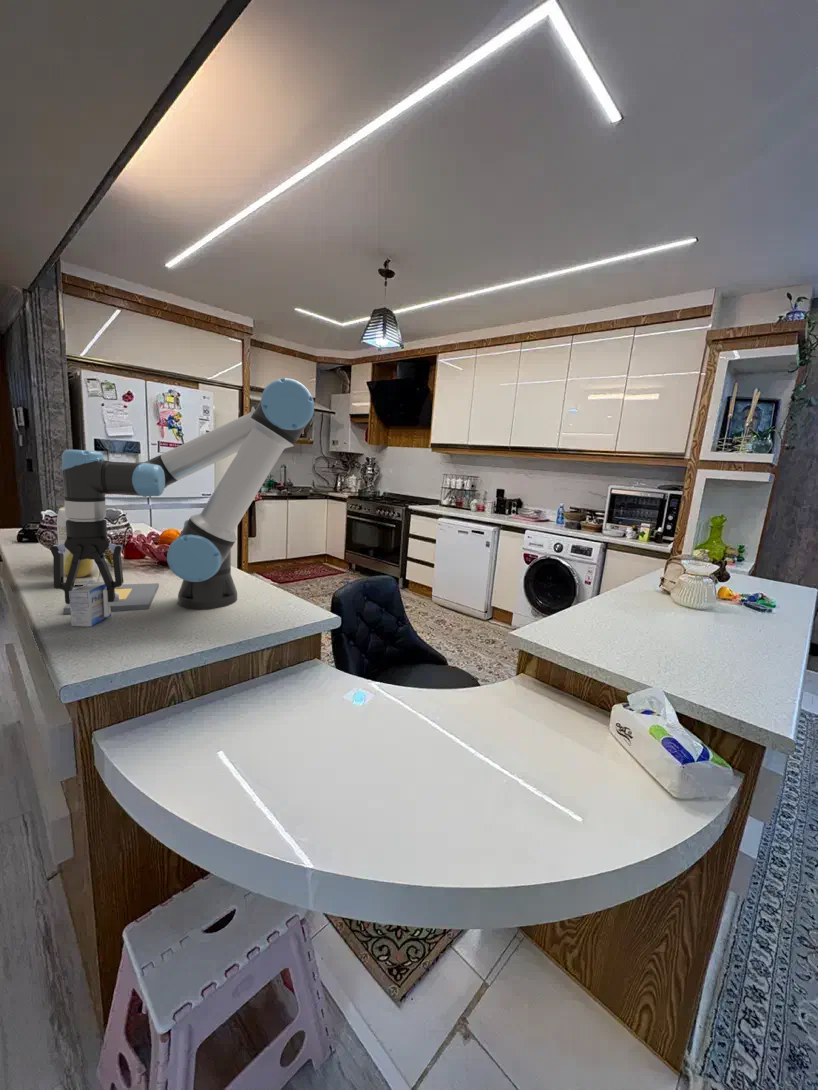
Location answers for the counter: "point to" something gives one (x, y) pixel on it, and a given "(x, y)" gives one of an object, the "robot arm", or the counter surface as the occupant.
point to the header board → (130, 597)
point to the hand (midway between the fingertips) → (91, 615)
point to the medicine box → (87, 604)
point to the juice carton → (87, 566)
